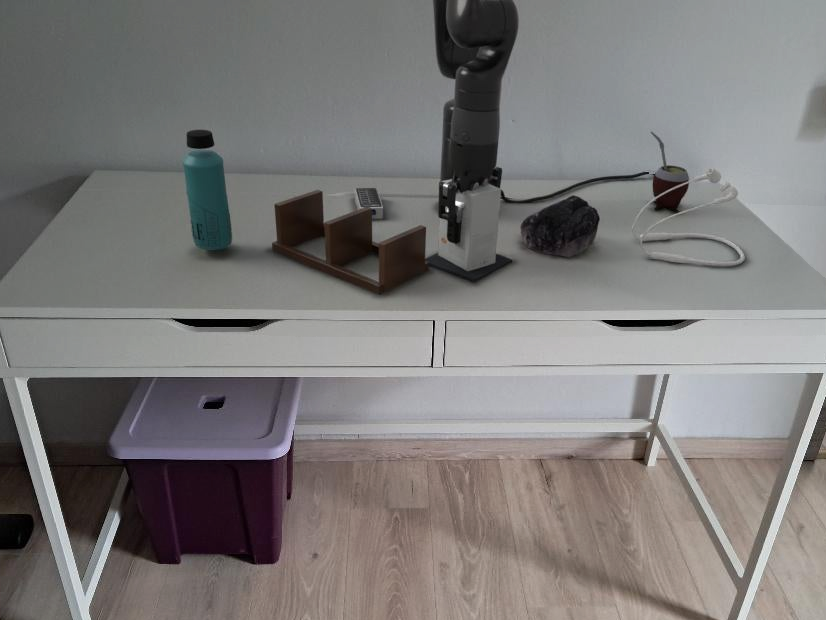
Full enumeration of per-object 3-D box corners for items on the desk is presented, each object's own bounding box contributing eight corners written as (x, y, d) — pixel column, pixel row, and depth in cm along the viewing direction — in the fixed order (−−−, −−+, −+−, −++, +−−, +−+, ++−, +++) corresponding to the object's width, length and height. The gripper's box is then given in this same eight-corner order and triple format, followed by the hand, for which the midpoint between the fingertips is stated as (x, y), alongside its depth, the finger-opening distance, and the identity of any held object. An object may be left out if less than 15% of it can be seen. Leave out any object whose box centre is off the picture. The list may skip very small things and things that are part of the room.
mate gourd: (690, 210, 162) (706, 136, 154) (663, 217, 158) (678, 141, 150) (663, 199, 167) (677, 126, 159) (636, 205, 163) (649, 131, 155)
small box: (495, 263, 134) (502, 188, 126) (467, 272, 130) (472, 195, 123) (465, 247, 139) (469, 174, 132) (436, 255, 135) (440, 180, 128)
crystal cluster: (507, 236, 147) (510, 186, 141) (572, 223, 151) (577, 174, 145) (540, 271, 137) (545, 219, 131) (608, 256, 141) (616, 205, 135)
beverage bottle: (241, 247, 136) (229, 128, 125) (219, 262, 130) (205, 139, 119) (208, 240, 137) (193, 123, 126) (185, 255, 132) (168, 133, 121)
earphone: (620, 214, 147) (707, 155, 141) (663, 278, 154) (747, 224, 149) (638, 244, 135) (733, 180, 130) (684, 311, 143) (775, 254, 137)
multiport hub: (376, 198, 159) (376, 187, 157) (383, 219, 150) (383, 207, 148) (354, 199, 158) (354, 187, 157) (359, 219, 149) (359, 207, 148)
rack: (324, 230, 143) (322, 187, 139) (429, 270, 131) (431, 224, 127) (272, 250, 135) (268, 205, 131) (379, 295, 123) (379, 247, 119)
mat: (460, 244, 141) (461, 241, 141) (512, 262, 136) (512, 259, 135) (421, 263, 134) (421, 260, 133) (474, 283, 128) (474, 279, 128)
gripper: (482, 122, 130) (475, 219, 139) (426, 139, 120) (422, 241, 129) (520, 132, 126) (510, 230, 135) (466, 150, 116) (458, 254, 125)
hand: (467, 235), depth 132 cm, fingers closed on small box, 7 cm apart
